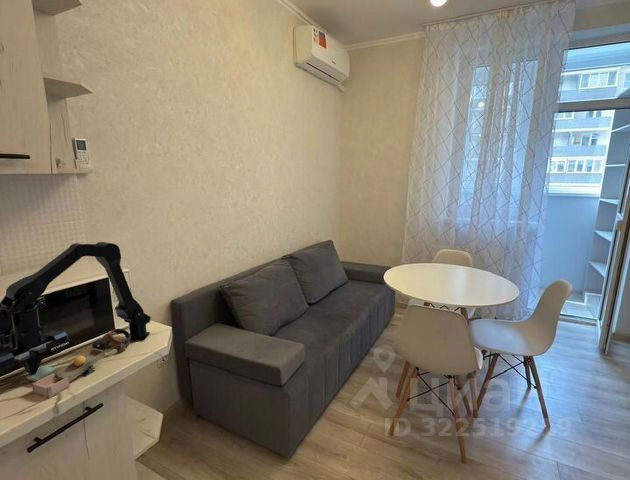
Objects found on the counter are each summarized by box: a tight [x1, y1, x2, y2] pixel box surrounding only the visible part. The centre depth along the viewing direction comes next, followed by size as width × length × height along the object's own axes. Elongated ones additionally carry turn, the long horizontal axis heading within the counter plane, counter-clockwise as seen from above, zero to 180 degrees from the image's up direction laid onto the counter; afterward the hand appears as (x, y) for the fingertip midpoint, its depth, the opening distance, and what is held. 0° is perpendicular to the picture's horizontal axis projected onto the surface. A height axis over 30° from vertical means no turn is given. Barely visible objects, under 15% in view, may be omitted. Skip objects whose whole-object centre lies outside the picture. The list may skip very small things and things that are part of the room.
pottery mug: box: [91, 328, 131, 353], centre depth 114 cm, size 12×10×8 cm
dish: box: [31, 374, 71, 399], centre depth 92 cm, size 6×6×3 cm
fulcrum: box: [79, 367, 96, 377], centre depth 102 cm, size 3×5×2 cm, turn 72°
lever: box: [26, 348, 106, 383], centre depth 100 cm, size 15×14×2 cm
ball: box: [73, 355, 86, 366], centre depth 100 cm, size 3×3×3 cm
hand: (32, 374), depth 96 cm, fingers closed
